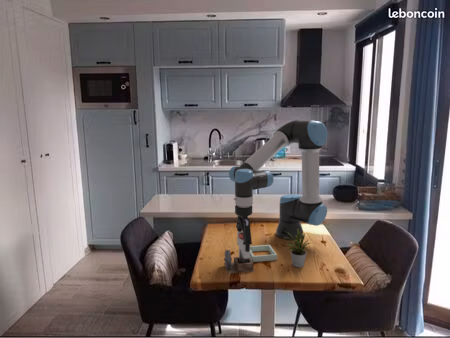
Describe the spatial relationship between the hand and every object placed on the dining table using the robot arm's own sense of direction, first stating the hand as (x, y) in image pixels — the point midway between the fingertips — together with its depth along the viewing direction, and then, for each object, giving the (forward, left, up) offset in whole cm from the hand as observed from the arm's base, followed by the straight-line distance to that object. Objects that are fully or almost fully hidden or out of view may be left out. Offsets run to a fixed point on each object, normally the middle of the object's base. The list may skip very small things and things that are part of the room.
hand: (243, 251), depth 150 cm
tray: (-11, -10, -9) cm, 17 cm away
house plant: (-26, -2, -9) cm, 27 cm away
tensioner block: (+2, 0, -9) cm, 9 cm away
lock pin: (0, 0, -7) cm, 7 cm away
